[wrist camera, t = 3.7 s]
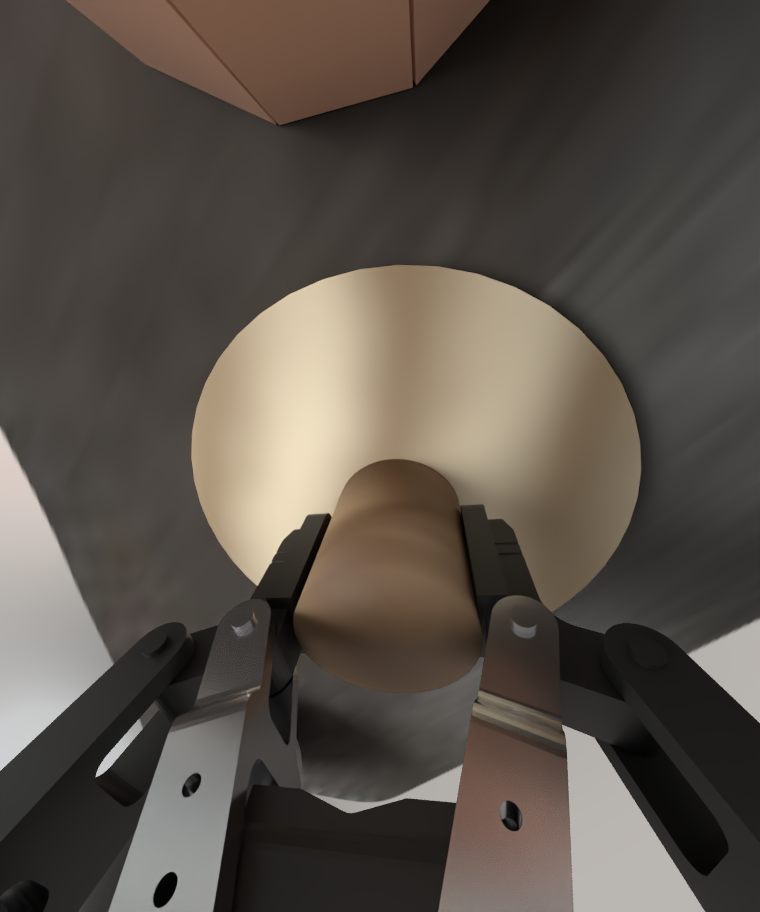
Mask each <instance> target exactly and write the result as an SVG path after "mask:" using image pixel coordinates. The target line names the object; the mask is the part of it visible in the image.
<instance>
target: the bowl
mask: <svg viewBox="0 0 760 912" xmlns="http://www.w3.org/2000/svg"><path fill="white" fill-rule="evenodd" d="M67 1H68V2H69V3H70V4H71V5H73V6H74V7H75V8H76V9H78V10H79V11H80V12H81V13H83V14H84V15H85V16H86V17H87V18H89V19H90V20H91V21H92V22H94V23H95V24H96V25H97V26H99V27H100V28H101V29H102V30H104V31H105V32H106V33H107V34H108V35H110V36H111V37H112V38H113V39H115V40H116V41H117V42H118V43H120V44H121V45H122V46H123V47H124V48H126V49H127V50H128V51H129V52H131V53H132V54H133V55H134V56H136V57H137V58H138V59H139V60H141V61H142V62H143V63H144V64H145V65H147V66H150V67H152V68H154V69H156V70H158V71H160V72H163V73H165V74H167V75H169V76H171V77H173V78H176V79H178V80H180V81H182V82H184V83H186V84H189V85H191V86H193V87H195V88H197V89H199V90H202V91H204V92H206V93H208V94H210V95H212V96H215V97H217V98H219V99H221V100H223V101H225V102H228V103H230V104H232V105H234V106H236V107H238V108H240V109H243V110H245V111H247V112H249V113H251V114H253V115H256V116H258V117H260V118H262V119H264V120H266V121H269V122H271V123H273V124H275V125H276V124H277V123H278V124H279V125H282V124H286V123H289V122H293V121H296V120H300V119H303V118H307V117H311V116H314V115H318V114H321V113H325V112H328V111H332V110H335V109H339V108H342V107H346V106H349V105H353V104H357V103H360V102H364V101H367V100H371V99H374V98H378V97H381V96H385V95H388V94H392V93H395V92H399V91H402V90H406V89H410V88H413V81H414V82H415V84H416V85H417V84H418V83H419V82H420V80H421V79H422V78H423V77H424V76H425V75H426V73H427V72H428V71H429V70H430V69H431V68H432V67H433V65H434V64H435V63H436V62H437V61H438V60H439V58H440V57H441V56H442V55H443V54H444V53H445V52H446V50H447V49H448V48H449V47H450V46H451V45H452V43H453V42H454V41H455V40H456V39H457V38H458V37H459V35H460V34H461V33H462V32H463V31H464V30H465V28H466V27H467V26H468V25H469V24H470V23H471V22H472V20H473V19H474V18H475V17H476V16H477V15H478V13H479V12H480V11H481V10H482V9H483V8H484V7H485V5H486V4H487V3H488V2H489V1H490V0H67Z"/></svg>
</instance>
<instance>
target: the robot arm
mask: <svg viewBox="0 0 760 912" xmlns="http://www.w3.org/2000/svg"><path fill="white" fill-rule="evenodd" d="M460 512H461V520H462V526H463V531H464V537H465V543H466V549H467V555H468V561H469V566H470V572H471V578H472V584H473V590H474V596H475V601H476V607H477V613H478V617H479V620H480V626H481V632H482V639H483V643H482V651H481V654H480V657H484V663H483V669H482V675H481V682H480V688H479V693H478V697H477V699H476V700H475V702H474V705H473V709H472V714H471V720H470V726H469V731H468V737H467V743H466V749H465V755H464V761H463V767H462V773H461V779H460V785H459V791H458V797H457V803H451V802H440V801H429V800H418V799H403V800H400V801H396V802H392V803H389V804H385V805H381V806H378V807H374V808H371V809H367V810H363V811H360V812H356V813H346V812H343V811H341V810H339V809H338V808H336V807H334V806H332V805H330V804H328V803H326V802H325V801H323V800H321V799H319V798H317V797H315V796H313V795H312V794H310V793H308V792H306V791H304V790H302V789H301V781H300V773H299V767H298V763H297V756H296V733H297V703H298V669H297V667H296V664H297V661H298V658H299V655H300V653H305V652H304V650H303V649H302V648H301V646H300V644H299V642H298V640H297V638H296V635H295V632H294V626H293V618H294V613H295V609H296V606H297V604H298V601H299V599H300V596H301V594H302V591H303V589H304V586H305V584H306V581H307V579H308V576H309V573H310V571H311V568H312V566H313V563H314V561H315V558H316V556H317V553H318V551H319V548H320V546H321V543H322V541H323V538H324V536H325V533H326V531H327V528H328V526H329V523H330V521H331V518H332V517H331V515H330V514H329V513H324V514H309V515H307V516H306V518H305V520H304V522H303V524H302V526H301V528H300V529H295V530H293V531H292V532H291V533H290V534H289V535H288V536H287V537H286V538H285V539H284V540H283V541H282V543H281V545H280V546H279V548H278V550H277V554H275V555H274V557H273V559H272V563H271V564H270V565H269V566H268V568H267V570H266V572H265V574H264V575H263V577H262V579H261V581H260V583H259V585H258V586H257V588H256V590H255V592H254V594H253V595H252V597H251V599H250V600H248V601H245V602H242V603H240V604H238V605H237V606H235V607H234V608H232V609H231V610H230V611H229V612H228V613H227V614H226V615H225V616H224V617H223V618H222V620H221V621H220V623H219V625H217V626H214V627H211V628H208V629H205V630H201V631H198V632H195V633H191V634H189V632H188V630H187V629H186V627H185V626H184V625H183V624H181V623H178V622H172V623H167V624H164V625H162V626H159V627H157V628H155V629H154V630H152V631H150V632H149V633H148V634H146V635H145V636H144V637H143V638H142V639H140V640H139V641H138V642H137V643H136V644H135V645H134V646H133V647H132V648H131V649H130V650H129V651H128V652H127V653H125V654H124V655H123V656H122V657H121V658H120V659H119V660H118V661H117V662H116V663H115V664H114V665H113V666H112V667H111V668H110V669H108V670H107V671H106V672H105V673H104V674H103V675H102V676H101V677H100V678H99V679H98V680H97V681H96V682H95V683H94V684H92V686H90V687H89V688H88V689H87V690H86V691H85V692H84V693H83V694H82V695H81V696H80V697H79V698H78V699H77V700H75V701H74V702H73V703H72V704H71V705H70V706H69V707H68V708H67V709H66V710H65V711H64V712H63V713H62V714H61V715H59V716H58V717H57V718H56V719H55V720H54V721H53V722H52V723H51V724H50V725H49V726H48V727H47V728H46V729H45V730H44V731H43V732H41V733H40V734H39V735H38V736H37V737H36V738H35V739H34V740H33V741H32V742H31V743H30V744H29V745H28V746H27V747H26V748H25V749H23V750H22V751H21V752H20V753H19V754H18V755H17V756H16V757H15V758H14V759H13V760H12V761H11V762H10V763H8V764H7V765H6V766H5V767H4V768H3V769H2V770H1V771H0V912H78V911H79V910H80V908H81V907H82V905H83V904H84V903H85V901H86V900H87V898H88V897H89V895H90V894H91V893H92V891H93V890H94V888H95V887H96V886H97V884H98V883H99V881H100V880H101V879H102V877H103V876H104V874H105V873H106V872H107V870H108V869H109V867H110V866H111V864H112V863H113V862H114V860H115V859H116V857H117V856H118V855H119V853H120V852H121V850H122V849H123V848H124V846H125V845H126V843H127V842H128V841H129V839H130V838H131V836H132V835H133V834H134V832H135V834H134V837H133V840H132V843H131V846H130V849H129V852H128V855H127V858H126V861H125V864H124V867H123V870H122V873H121V876H120V879H119V882H118V885H117V888H116V891H115V894H114V897H113V900H112V903H111V906H110V909H109V912H573V890H572V868H571V867H572V865H571V843H570V842H571V841H570V817H569V795H568V794H569V793H568V770H567V750H566V739H565V733H564V731H563V729H562V725H565V726H567V727H570V728H572V729H575V730H577V731H580V732H583V733H585V734H587V735H590V736H592V737H595V739H596V741H597V742H598V744H599V745H600V747H601V748H602V750H603V752H604V753H605V755H606V756H607V758H608V759H609V761H610V763H611V764H612V766H613V767H614V769H615V770H616V772H617V774H618V775H619V776H620V778H621V780H622V781H623V783H624V785H625V786H626V788H627V789H628V791H629V792H630V794H631V795H632V797H633V799H634V800H635V802H636V803H637V805H638V807H639V808H640V809H641V811H642V813H643V814H644V816H645V818H646V819H647V821H648V822H649V824H650V825H651V827H652V829H653V830H654V832H655V833H656V835H657V836H658V838H659V840H660V841H661V843H662V844H663V846H664V847H665V849H666V851H667V852H668V854H669V855H670V857H671V858H672V860H673V862H674V863H675V865H676V866H677V868H678V869H679V871H680V873H681V874H682V876H683V877H684V879H685V880H686V882H687V884H688V885H689V887H690V888H691V890H692V891H693V893H694V895H695V896H696V898H697V899H698V901H699V903H700V904H701V906H702V907H703V909H704V910H705V911H706V912H760V723H759V722H758V721H757V720H756V719H755V718H754V717H753V716H751V715H750V714H749V713H748V712H747V711H746V710H745V709H744V708H743V707H742V706H741V705H740V704H739V703H738V702H737V701H736V700H734V698H732V697H731V696H730V695H729V694H728V693H727V692H726V691H725V690H724V689H723V688H722V687H721V686H720V685H719V684H718V683H717V682H716V681H715V680H713V679H712V678H711V677H710V676H709V675H708V674H707V673H706V672H705V671H704V670H703V669H702V668H701V667H700V666H698V664H697V663H695V661H693V660H692V659H691V658H690V657H689V656H688V655H687V654H686V653H685V652H684V651H683V650H682V649H681V648H680V647H679V646H678V645H676V644H675V643H674V642H673V641H672V640H670V639H669V638H667V637H666V636H664V635H663V634H661V633H659V632H657V631H655V630H653V629H651V628H648V627H645V626H642V625H638V624H631V623H622V624H617V625H615V626H612V627H611V628H609V629H608V630H607V632H606V633H605V634H602V633H598V632H595V631H591V630H587V629H584V628H580V627H577V626H574V625H571V624H568V623H566V622H564V621H562V620H561V619H559V618H557V617H556V616H555V615H553V614H552V613H551V611H550V610H549V609H548V608H547V607H546V606H544V605H543V603H542V602H541V600H540V598H539V595H538V593H537V590H536V588H535V585H534V582H533V580H532V577H531V575H530V572H529V569H528V567H527V564H526V561H525V559H524V556H523V555H522V551H521V548H520V546H519V544H518V540H517V538H516V535H515V533H514V530H513V529H512V528H511V527H510V526H509V525H508V524H507V523H506V522H505V521H504V520H503V519H489V520H488V518H487V515H486V511H485V508H484V505H483V504H476V505H460ZM152 703H154V705H155V706H156V707H157V708H158V709H159V711H158V712H157V713H156V714H155V715H154V716H153V718H152V719H151V720H150V721H149V722H148V723H147V725H146V726H145V727H144V728H143V730H142V731H141V732H140V733H139V734H138V735H137V737H136V738H135V739H134V740H133V741H132V743H130V745H129V746H128V747H127V748H126V749H125V751H124V752H123V753H122V754H121V755H120V757H119V758H118V759H117V760H116V761H115V762H114V763H113V765H112V766H111V767H110V768H109V769H108V770H107V771H106V772H104V773H103V774H102V775H100V776H98V777H96V778H95V776H96V772H97V769H98V767H99V765H100V764H101V762H102V761H103V759H104V758H105V757H106V755H107V754H108V753H109V752H110V751H111V749H112V748H113V747H114V746H115V745H116V744H117V743H118V742H119V741H120V739H121V738H122V737H123V736H124V735H125V734H126V733H127V732H128V730H129V729H130V728H131V727H132V726H133V724H135V722H136V721H137V720H138V719H139V718H140V717H141V716H142V714H143V713H144V712H145V711H146V710H147V709H148V708H149V707H150V705H151V704H152Z"/></svg>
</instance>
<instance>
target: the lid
mask: <svg viewBox="0 0 760 912" xmlns="http://www.w3.org/2000/svg"><path fill="white" fill-rule="evenodd" d="M192 465H193V473H194V481H195V485H196V489H197V492H198V496H199V500H200V503H201V506H202V508H203V511H204V513H205V515H206V518H207V520H208V523H209V525H210V526H211V528H212V530H213V532H214V534H215V535H216V537H217V539H218V541H219V542H220V544H221V545H222V547H223V548H224V549H225V551H226V552H227V554H228V555H229V556H230V558H231V559H232V560H233V562H234V563H235V564H236V565H237V566H238V567H239V568H240V569H241V570H242V572H243V573H244V574H245V575H246V576H247V577H248V578H249V579H250V580H251V581H253V582H254V583H255V584H256V585H257V586H258V585H259V583H260V581H261V579H262V577H263V575H264V574H265V572H266V570H267V568H268V566H269V565H270V564H271V563H272V559H273V557H274V555H275V554H277V550H278V548H279V546H280V545H281V543H282V541H283V540H284V539H285V538H286V537H287V536H288V535H289V534H290V533H291V532H292V531H293V530H295V529H300V528H301V526H302V524H303V522H304V520H305V518H306V516H307V515H309V514H324V513H329V514H330V515H331V517H332V518H331V521H330V523H329V526H328V528H327V531H326V533H325V536H324V538H323V541H322V543H321V546H320V548H319V551H318V553H317V556H316V558H315V561H314V563H313V566H312V568H311V571H310V573H309V576H308V579H307V581H306V584H305V586H304V589H303V591H302V594H301V596H300V599H299V601H298V604H297V606H296V609H295V613H294V618H293V626H294V632H295V635H296V638H297V640H298V642H299V644H300V646H301V648H302V649H303V650H304V652H305V653H306V654H307V655H308V656H309V658H310V659H311V660H312V661H314V662H315V663H316V664H317V665H318V666H319V667H321V668H322V669H324V670H325V671H326V672H328V673H330V674H331V675H333V676H335V677H337V678H339V679H341V680H343V681H345V682H348V683H350V684H353V685H356V686H359V687H363V688H366V689H371V690H375V691H381V692H389V693H417V692H424V691H430V690H434V689H438V688H441V687H444V686H447V685H449V684H451V683H453V682H455V681H457V680H459V679H460V678H462V677H463V676H465V675H466V674H467V673H468V672H469V671H470V670H471V669H472V668H473V667H474V665H475V664H476V662H477V661H478V659H479V657H480V654H481V651H482V643H483V639H482V632H481V626H480V620H479V617H478V613H477V607H476V601H475V596H474V590H473V584H472V578H471V572H470V566H469V561H468V555H467V549H466V543H465V537H464V531H463V526H462V520H461V512H460V505H476V504H483V505H484V508H485V511H486V515H487V518H488V520H489V519H503V520H504V521H505V522H506V523H507V524H508V525H509V526H510V527H511V528H512V529H513V530H514V533H515V535H516V538H517V540H518V544H519V546H520V548H521V551H522V555H523V556H524V559H525V561H526V564H527V567H528V569H529V572H530V575H531V577H532V580H533V582H534V585H535V588H536V590H537V593H538V595H539V598H540V600H541V602H542V603H543V605H544V606H546V607H547V608H548V609H549V610H550V611H551V612H553V611H554V610H556V609H557V608H559V607H560V606H562V605H563V604H564V603H566V602H567V601H569V600H570V599H571V598H573V597H574V596H575V595H576V594H577V593H578V592H580V591H581V590H582V589H583V588H584V587H585V586H587V585H588V584H589V583H590V581H591V580H592V579H593V578H594V577H595V576H596V575H597V574H598V573H599V572H600V570H601V569H602V568H603V567H604V566H605V564H606V563H607V562H608V560H609V559H610V557H611V556H612V554H613V553H614V551H615V550H616V549H617V547H618V545H619V543H620V541H621V539H622V537H623V535H624V533H625V531H626V529H627V527H628V525H629V523H630V520H631V517H632V514H633V511H634V507H635V504H636V501H637V498H638V490H639V483H640V476H641V451H640V439H639V435H638V430H637V425H636V421H635V416H634V412H633V410H632V407H631V405H630V402H629V400H628V398H627V395H626V393H625V390H624V388H623V386H622V383H621V382H620V380H619V379H618V377H617V375H616V374H615V372H614V371H613V369H612V368H611V366H610V365H609V363H608V361H607V360H606V358H605V357H604V355H603V354H602V353H601V352H600V351H599V350H598V349H597V348H596V346H595V345H594V344H593V343H592V342H591V341H590V340H589V339H588V338H587V337H586V336H585V334H584V333H583V332H582V331H581V330H580V329H579V328H578V327H576V326H575V325H574V324H572V323H571V322H570V321H569V320H567V319H566V318H565V317H563V316H562V315H561V314H560V313H558V312H557V311H556V310H554V309H553V308H552V307H551V306H549V305H547V304H545V303H543V302H542V301H540V300H538V299H536V298H534V297H532V296H531V295H529V294H527V293H525V292H523V291H521V290H520V289H518V288H516V287H513V286H510V285H508V284H505V283H502V282H499V281H496V280H494V279H491V278H488V277H485V276H482V275H479V274H476V273H470V272H465V271H460V270H454V269H449V268H444V267H439V266H413V265H394V266H385V267H376V268H368V269H359V270H355V271H352V272H348V273H344V274H341V275H337V276H334V277H330V278H326V279H323V280H320V281H318V282H316V283H314V284H311V285H309V286H307V287H305V288H303V289H300V290H298V291H296V292H294V293H291V294H289V295H288V296H286V297H285V298H283V299H282V300H280V301H279V302H277V303H276V304H274V305H273V306H271V307H270V308H268V309H266V310H265V311H263V312H262V313H261V314H260V315H258V316H257V317H256V318H255V319H254V320H253V321H252V322H251V323H250V324H249V325H248V326H246V327H245V328H244V329H243V330H242V331H241V332H240V333H239V334H238V335H237V336H236V337H235V339H234V340H233V341H232V342H231V344H230V345H229V346H228V347H227V349H226V350H225V351H224V353H223V354H222V355H221V356H220V358H219V359H218V361H217V363H216V365H215V367H214V368H213V370H212V372H211V374H210V376H209V377H208V379H207V381H206V383H205V386H204V389H203V391H202V394H201V397H200V400H199V403H198V406H197V409H196V414H195V420H194V425H193V431H192Z"/></svg>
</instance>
